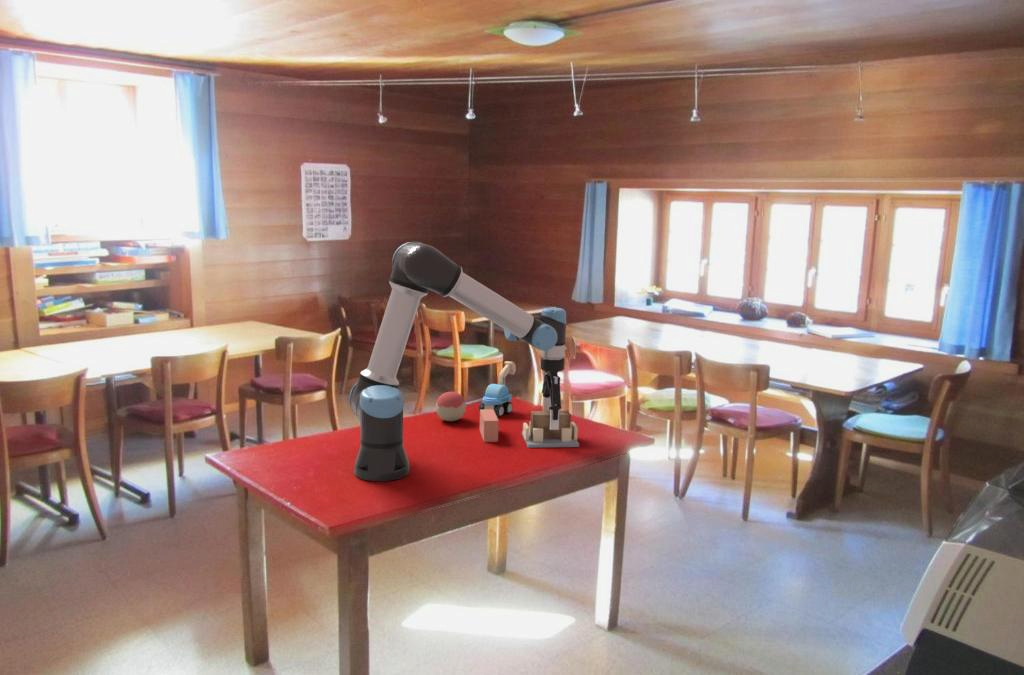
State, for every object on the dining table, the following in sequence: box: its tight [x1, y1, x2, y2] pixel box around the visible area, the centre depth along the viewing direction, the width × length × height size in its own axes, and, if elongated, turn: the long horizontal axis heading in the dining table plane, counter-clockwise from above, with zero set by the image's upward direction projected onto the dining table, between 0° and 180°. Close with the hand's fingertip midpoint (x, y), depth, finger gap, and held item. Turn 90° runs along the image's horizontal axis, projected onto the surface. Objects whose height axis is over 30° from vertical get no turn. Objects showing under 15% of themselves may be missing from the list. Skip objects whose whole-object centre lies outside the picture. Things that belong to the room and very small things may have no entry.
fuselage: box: [530, 410, 572, 440], centre depth 254 cm, size 12×4×8 cm, turn 97°
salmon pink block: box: [479, 409, 499, 443], centre depth 257 cm, size 4×13×7 cm, turn 8°
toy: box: [435, 391, 467, 422], centre depth 273 cm, size 10×12×10 cm
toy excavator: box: [478, 360, 517, 418], centre depth 285 cm, size 9×17×17 cm, turn 148°
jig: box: [521, 420, 580, 449], centre depth 254 cm, size 16×14×5 cm
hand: (550, 423), depth 254 cm, fingers open, 13 cm apart
